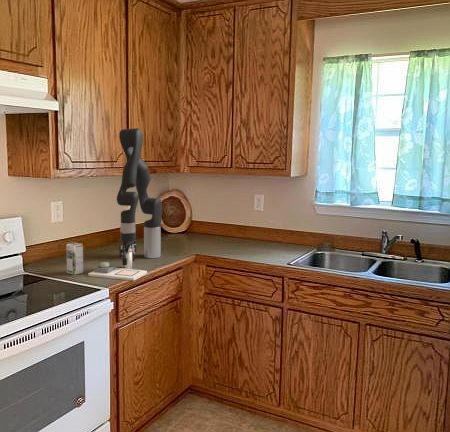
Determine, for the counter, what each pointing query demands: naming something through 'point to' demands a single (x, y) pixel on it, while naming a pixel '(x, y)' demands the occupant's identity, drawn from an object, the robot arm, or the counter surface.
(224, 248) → the counter surface
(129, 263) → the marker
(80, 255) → the syrup box
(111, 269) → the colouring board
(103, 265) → the button
